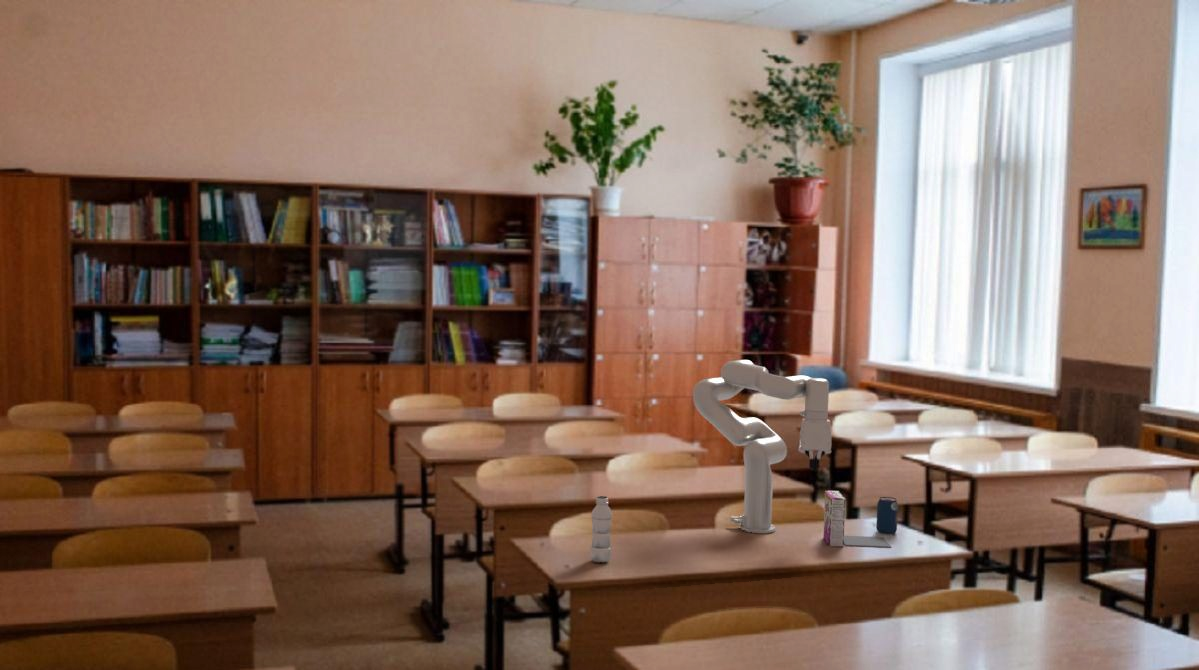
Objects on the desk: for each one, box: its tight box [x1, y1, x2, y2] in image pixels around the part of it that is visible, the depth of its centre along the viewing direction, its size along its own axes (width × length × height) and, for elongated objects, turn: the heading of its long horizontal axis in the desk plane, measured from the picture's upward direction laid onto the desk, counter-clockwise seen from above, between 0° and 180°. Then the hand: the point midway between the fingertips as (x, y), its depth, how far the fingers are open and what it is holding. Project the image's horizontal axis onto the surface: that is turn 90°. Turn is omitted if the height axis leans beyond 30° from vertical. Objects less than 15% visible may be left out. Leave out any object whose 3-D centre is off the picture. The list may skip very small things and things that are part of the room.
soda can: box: [875, 496, 899, 536], centre depth 371 cm, size 7×7×12 cm
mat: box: [843, 535, 892, 549], centre depth 359 cm, size 15×12×1 cm
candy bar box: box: [823, 490, 846, 548], centre depth 356 cm, size 11×5×16 cm, turn 179°
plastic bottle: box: [589, 495, 613, 563], centre depth 326 cm, size 6×7×20 cm
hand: (814, 470), depth 355 cm, fingers closed
